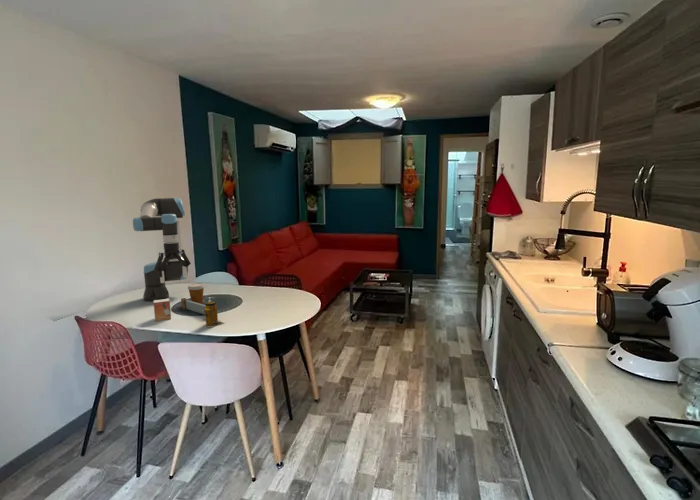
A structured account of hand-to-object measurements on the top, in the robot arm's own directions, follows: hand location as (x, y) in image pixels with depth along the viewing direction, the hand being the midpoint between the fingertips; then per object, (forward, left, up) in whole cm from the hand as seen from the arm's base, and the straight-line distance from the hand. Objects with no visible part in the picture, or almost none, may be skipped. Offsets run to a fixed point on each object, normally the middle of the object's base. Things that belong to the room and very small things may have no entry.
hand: (174, 280), depth 212 cm
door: (+4, +9, -20) cm, 23 cm away
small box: (-2, -7, -21) cm, 22 cm away
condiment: (+28, +4, -21) cm, 35 cm away
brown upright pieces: (+5, +10, -21) cm, 23 cm away
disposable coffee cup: (-11, +20, -21) cm, 31 cm away
